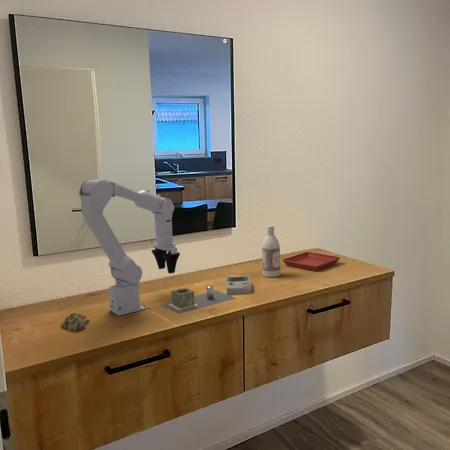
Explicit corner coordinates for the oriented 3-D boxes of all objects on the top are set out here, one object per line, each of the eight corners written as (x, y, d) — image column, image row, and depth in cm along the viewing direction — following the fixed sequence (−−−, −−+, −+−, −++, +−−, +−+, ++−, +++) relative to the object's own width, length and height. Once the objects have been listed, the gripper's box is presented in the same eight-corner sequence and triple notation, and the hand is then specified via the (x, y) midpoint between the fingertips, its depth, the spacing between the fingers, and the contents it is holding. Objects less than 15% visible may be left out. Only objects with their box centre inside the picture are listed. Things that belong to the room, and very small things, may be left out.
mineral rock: (56, 316, 139) (82, 305, 142) (62, 328, 141) (87, 316, 144) (62, 329, 130) (89, 316, 133) (68, 342, 131) (94, 329, 134)
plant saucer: (315, 273, 183) (315, 265, 182) (281, 266, 196) (281, 259, 195) (341, 264, 195) (341, 257, 194) (307, 258, 208) (307, 251, 207)
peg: (209, 299, 152) (208, 288, 151) (205, 298, 154) (204, 286, 153) (215, 298, 153) (214, 286, 153) (211, 296, 155) (210, 285, 155)
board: (178, 316, 140) (178, 313, 140) (161, 306, 150) (160, 303, 150) (236, 301, 153) (236, 297, 152) (216, 292, 162) (216, 289, 162)
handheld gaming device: (226, 298, 157) (226, 287, 156) (225, 285, 171) (225, 276, 171) (252, 297, 157) (252, 287, 157) (249, 285, 172) (249, 275, 171)
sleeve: (180, 308, 144) (179, 294, 144) (172, 304, 149) (171, 291, 148) (194, 304, 147) (193, 291, 146) (186, 300, 152) (185, 287, 151)
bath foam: (270, 278, 177) (269, 228, 174) (259, 275, 182) (257, 226, 179) (284, 275, 181) (282, 225, 178) (272, 272, 186) (271, 223, 183)
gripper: (184, 233, 153) (186, 272, 155) (165, 228, 165) (167, 264, 167) (165, 236, 149) (168, 276, 151) (147, 231, 161) (149, 268, 163)
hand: (166, 270), depth 159 cm, fingers open, 7 cm apart
